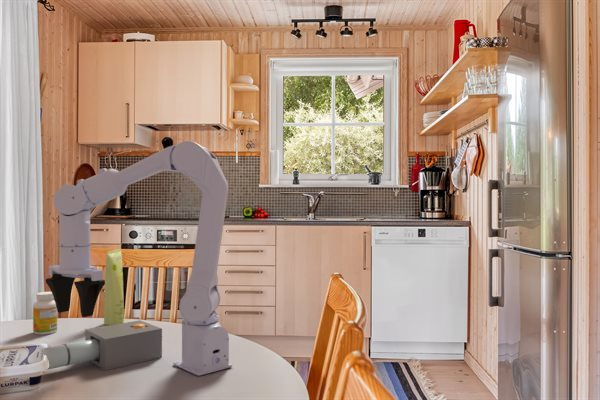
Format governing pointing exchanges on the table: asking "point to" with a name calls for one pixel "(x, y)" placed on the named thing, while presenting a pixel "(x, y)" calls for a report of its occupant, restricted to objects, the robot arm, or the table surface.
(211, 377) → the table surface
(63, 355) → the cylinder
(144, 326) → the plunger
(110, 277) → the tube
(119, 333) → the housing
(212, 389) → the table surface
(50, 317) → the supplement bottle
